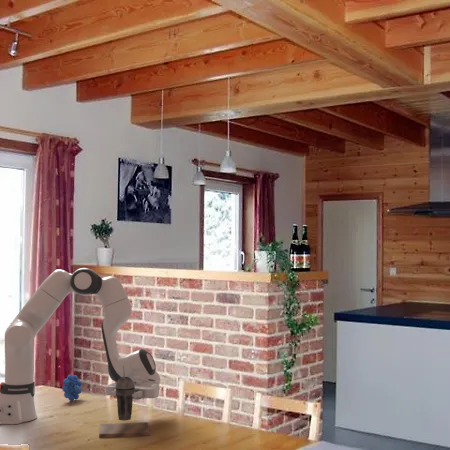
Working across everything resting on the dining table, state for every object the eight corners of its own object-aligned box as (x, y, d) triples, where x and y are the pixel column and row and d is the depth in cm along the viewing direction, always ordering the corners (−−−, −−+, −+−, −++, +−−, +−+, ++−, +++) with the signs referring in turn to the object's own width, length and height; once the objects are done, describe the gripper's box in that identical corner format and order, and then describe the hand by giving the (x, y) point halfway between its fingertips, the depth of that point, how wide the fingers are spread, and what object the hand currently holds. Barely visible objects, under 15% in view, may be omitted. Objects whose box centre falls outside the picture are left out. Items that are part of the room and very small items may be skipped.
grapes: (69, 404, 292) (70, 377, 292) (58, 403, 295) (58, 375, 296) (88, 399, 302) (88, 373, 302) (76, 398, 305) (77, 371, 306)
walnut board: (99, 437, 242) (99, 434, 242) (99, 427, 255) (99, 424, 255) (149, 435, 245) (149, 432, 245) (147, 425, 258) (147, 422, 259)
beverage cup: (138, 417, 252) (138, 364, 253) (127, 422, 246) (128, 367, 246) (121, 415, 255) (122, 362, 256) (110, 420, 249) (111, 365, 249)
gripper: (113, 377, 266) (98, 384, 253) (162, 380, 261) (149, 388, 247) (113, 394, 266) (98, 401, 252) (162, 397, 260) (149, 405, 247)
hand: (123, 394), depth 250 cm, fingers closed on beverage cup, 6 cm apart
